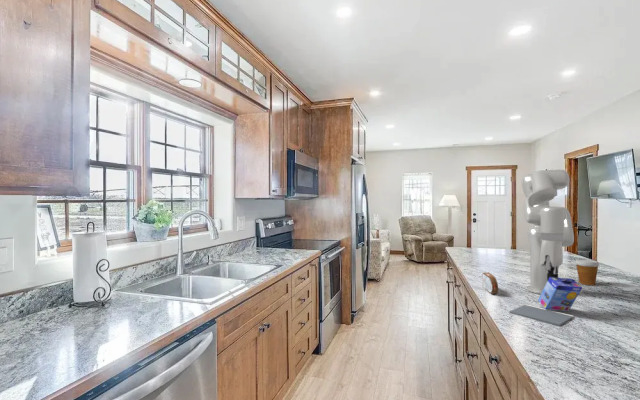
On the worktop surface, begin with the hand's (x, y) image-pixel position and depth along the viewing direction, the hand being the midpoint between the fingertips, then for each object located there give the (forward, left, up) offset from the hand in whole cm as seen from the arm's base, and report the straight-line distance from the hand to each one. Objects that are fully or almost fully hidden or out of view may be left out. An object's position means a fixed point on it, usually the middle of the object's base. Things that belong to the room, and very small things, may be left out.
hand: (552, 283), depth 124 cm
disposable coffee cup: (-60, -4, -11) cm, 61 cm away
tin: (-5, -27, -11) cm, 30 cm away
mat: (+11, 0, -10) cm, 15 cm away
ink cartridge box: (0, 0, -9) cm, 9 cm away
